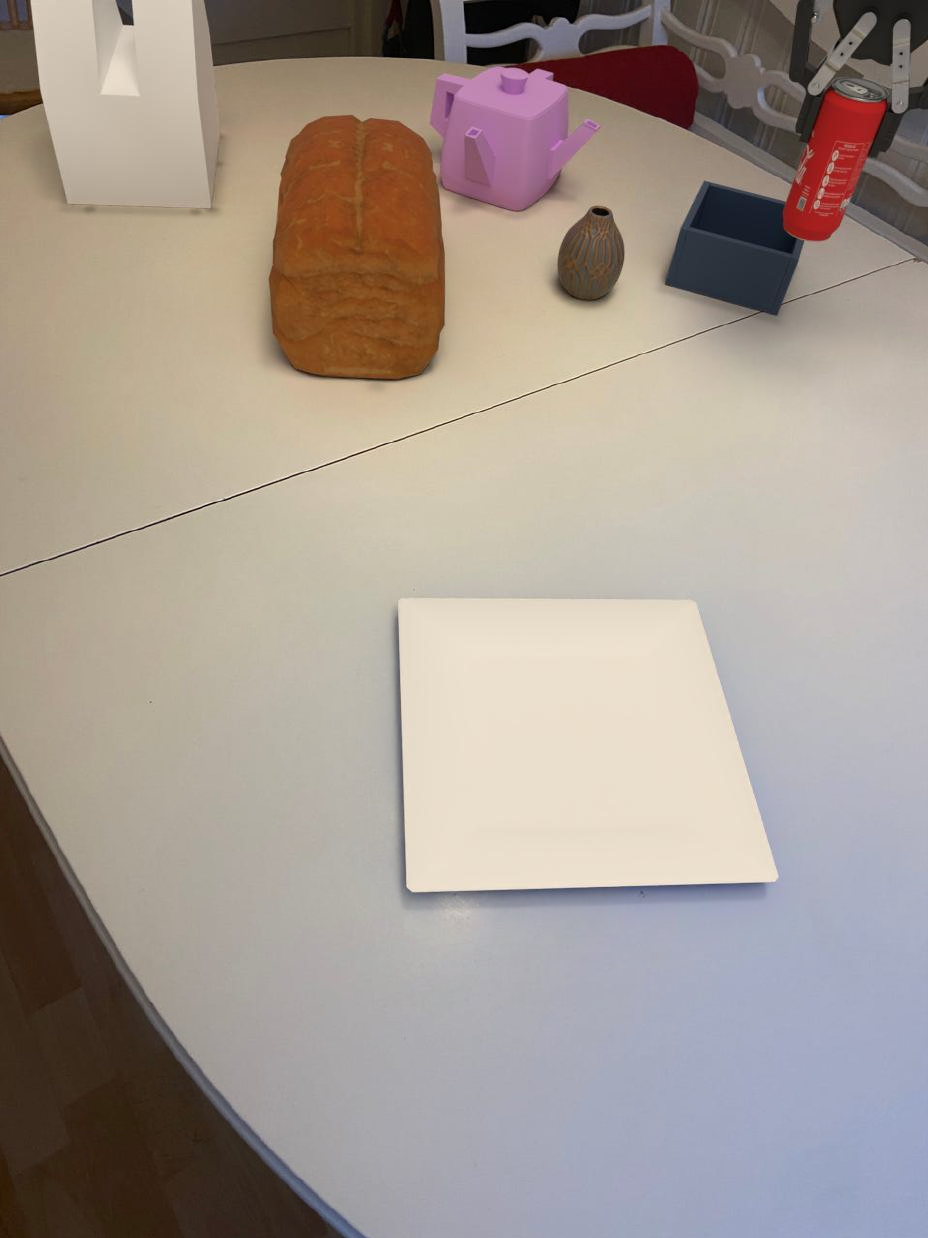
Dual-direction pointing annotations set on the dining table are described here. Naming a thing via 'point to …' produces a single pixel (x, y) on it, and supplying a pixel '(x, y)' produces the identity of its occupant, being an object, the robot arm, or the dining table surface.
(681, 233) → the tub
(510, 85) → the teakettle
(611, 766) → the plate
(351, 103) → the dining table surface
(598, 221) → the vase
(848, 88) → the beverage can
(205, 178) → the white notched block
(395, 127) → the bread
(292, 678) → the dining table surface
